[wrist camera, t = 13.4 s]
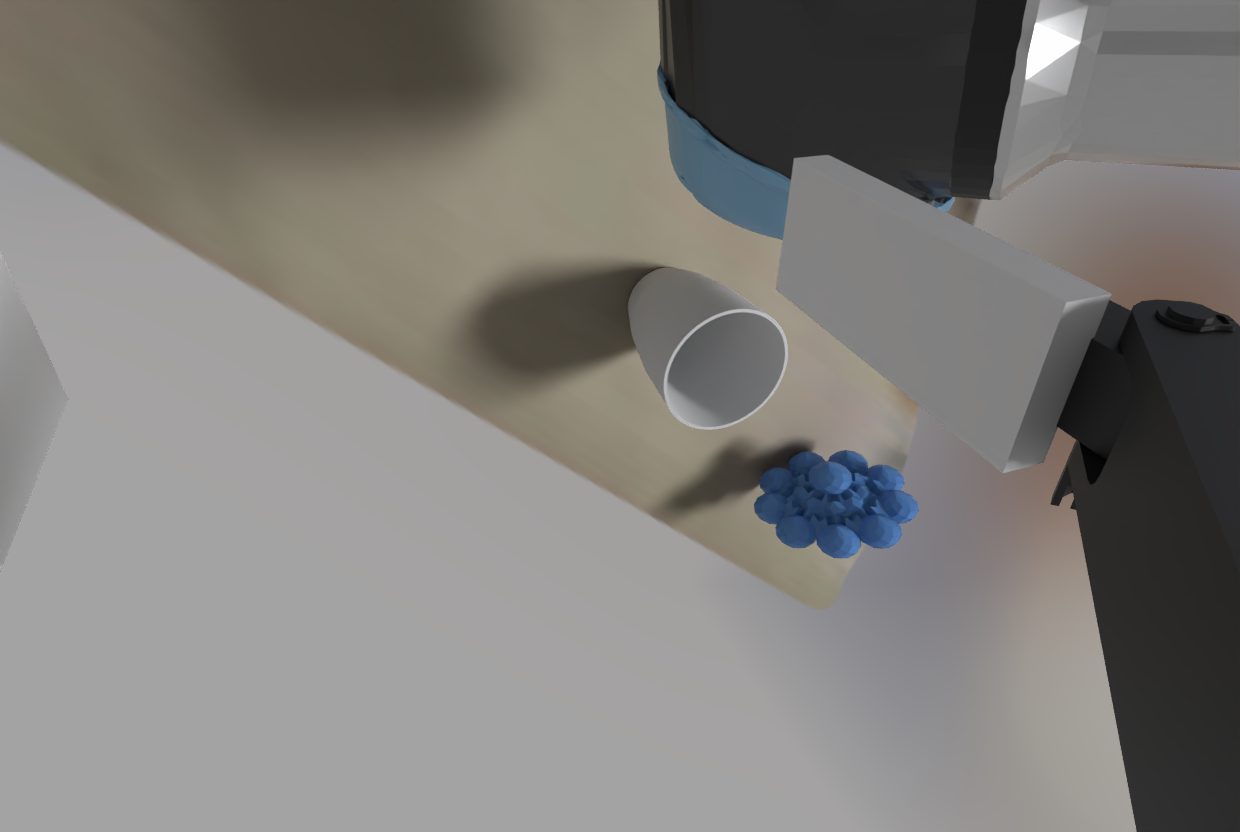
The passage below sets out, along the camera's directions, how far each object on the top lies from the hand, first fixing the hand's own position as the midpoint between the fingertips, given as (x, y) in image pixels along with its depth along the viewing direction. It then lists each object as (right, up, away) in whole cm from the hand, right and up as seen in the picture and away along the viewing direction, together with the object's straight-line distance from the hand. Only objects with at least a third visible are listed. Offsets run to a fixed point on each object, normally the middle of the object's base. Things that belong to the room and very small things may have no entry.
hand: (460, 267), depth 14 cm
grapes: (+18, -5, +53) cm, 56 cm away
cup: (+6, +5, +40) cm, 41 cm away
